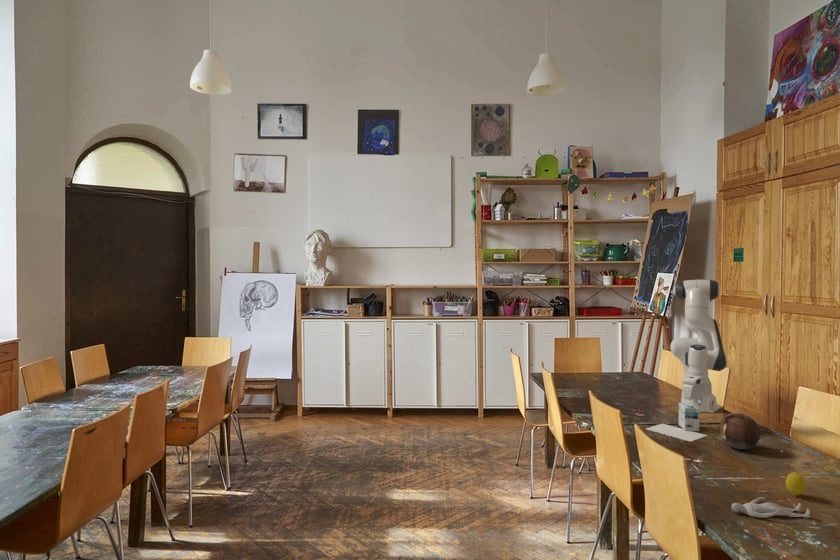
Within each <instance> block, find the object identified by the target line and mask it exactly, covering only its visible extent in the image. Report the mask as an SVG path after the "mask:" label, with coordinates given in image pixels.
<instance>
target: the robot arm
mask: <svg viewBox="0 0 840 560" xmlns="http://www.w3.org/2000/svg"><path fill="white" fill-rule="evenodd" d="M720 293H721V287H720V285H719V283H718V281H717V280H714V279H709V280H708V279H687V280H683V279H681V280H678V281H676V282H675V284H674V286H673V295H674V296H675V298H676V299H678V300H681V301H683V300H684V326H685V328H686V329H687V330H689V331H690V332H693V333H695V334H696V335H697V337H677V338H674V339H673V340H672V341H671V343H670V346H669V349H670V351H671V353H672V355H673V356H675V357H676V358H677V359H678V360H679V361H680V362H681V364H682V366H683V369H684V370H683V371H684V377H683V378H682V383H683V385H682V392H681V398H680V399H681V400H680V403H683V404H693V405H694V406H695V407H697V408H698V409H700V413H715V412H717V411H718V410H720V409H722V405H720V404H717V397H716V396H715V394H714V393H713V390H712V389H713V388H712V382H711V380H710V378H709V371H708V370H710V371H715V372H721V371H723V370H724V369H725V368H727V366H728V365H727V364H728V358H727V356H726V354H725V350H724V345H723V340H722V337H721V336H722V335H721V333H720V329H719V325H718V322H717V320H716V319H714V318H713V317H712V316H711V313H710V308H709V307H710V304H709V302H710V303H711V302H712V301H713V300H716V299H717V298H718V297H719V295H720Z"/></svg>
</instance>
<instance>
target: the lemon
mask: <svg viewBox="0 0 840 560" xmlns="http://www.w3.org/2000/svg"><path fill="white" fill-rule="evenodd" d="M785 487H786V489H787V490H788V492H789V493H791V494H792V495H793V496H795V497H796V496H800V495H803V494H804V493H805V491H806V487H807V484H806V481H805V479H804V477H803V476H802V475H801V474H799V473H798V472H791V473H789V474H788V475H787V476H786V479H785Z"/></svg>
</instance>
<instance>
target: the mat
mask: <svg viewBox="0 0 840 560" xmlns="http://www.w3.org/2000/svg"><path fill="white" fill-rule="evenodd" d="M645 430H646V431H647V430H648V431H650V432H655V433H657V432H658V434H662V435H664V434H665V435H664V436H668V437H671V436H672V438H674V439H675V438H676V439H680V440H682V441H683V440H684V441H687V442H691V443H692V442H694V441H695V442H696V441H698V440H701V439H704V438H706V437H708V435H707V434H704V433H700V432H697V431H688V430H684V429H683V428H682V427H681V428H680V427H676V426H672V425H669V424H666V423H660V424H655V425H653V426H650V427H647V428H645Z"/></svg>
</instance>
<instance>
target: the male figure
mask: <svg viewBox="0 0 840 560" xmlns="http://www.w3.org/2000/svg"><path fill="white" fill-rule="evenodd" d="M765 500H766V498H765V496H760V497H757V498H755V499H753V500H751V501H750V502H746V503H744V504H742V503H740V502H733V503H732V504H731V510H732V511H733V512H737V513H738V512H742V513H743V514H744V515H747V516H748V515H749V517H752V518H761V519H763V518H770V517H773V516H779V517H780V516H781V517H782V516H787V517H789V518H792V517H807V518H809V517H810V518H811V510H810V509H809V508H806V512H805V513H804V514H800V513H801V511H802V510H801V508H802V503H800V502H798V504H797V506H795V508H792V507H791V508H789V507H784V506H781V505H779V504H777V503H773V502H763V503H758V502H759V501H765ZM794 511H800V512H799V513H797V512H794Z"/></svg>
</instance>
